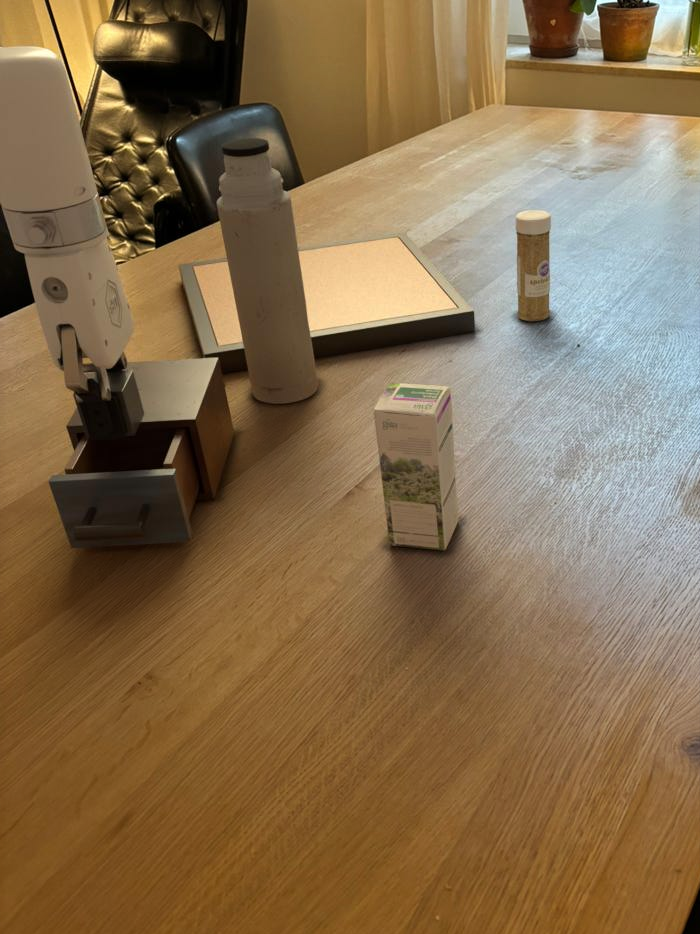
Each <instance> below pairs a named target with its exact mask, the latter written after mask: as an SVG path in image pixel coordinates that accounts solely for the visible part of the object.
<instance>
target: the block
mask: <svg viewBox="0 0 700 934" xmlns="http://www.w3.org/2000/svg"><path fill="white" fill-rule="evenodd" d="M84 374H85V376H87V378H88V379H89V378H93V379H94V380H95V381H96V382H97V383H98V379H97V375H96V373H94V372H88V373H84ZM107 377H108V382H109V387H110V392H111V396H113V395H116V398H117V402H118V405H119V409H120V412H121V416H122V419H123V423H124V426H125V430H126V435H125V436H135V434H136V431H137V429H138V427H139V425H140V423H141V421H142V419H143V416H144V410H143V406H142V402H141V399H140V395H139V391H138V388H137V384H136V380H135V376H134V373H133V371H120V372H107ZM72 396H73V398H74V402H75V406H76V408H77V409H78V412H79V415H80V418H81V421H82V425H83V428H84V431H85V434H86V437H87V438H90V437H89V433H88V430H87V427H86V424H85V421H84V417H83V414H82V411H81V408H80V404H79V402H77V400H76V396H75V393H74V392H73V394H72Z"/></svg>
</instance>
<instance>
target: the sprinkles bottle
mask: <svg viewBox="0 0 700 934" xmlns="http://www.w3.org/2000/svg"><path fill="white" fill-rule="evenodd" d="M551 228H552V217H551V213H549V212H548V211H545V210H539V209H538V210H536V209H533V210H532V209H531V210H524V211H521V212H519V213H517V214H516V215H515V234H516V251H517V252H516V291H517V317H518V318H519V319H520V320H522V321H526V322H539V321H544V320H546V319H548V318H549V317H550V315H551V310H550V292H551V269H550V252H551V251H550V233H551V230H552V229H551Z"/></svg>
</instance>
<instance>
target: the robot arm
mask: <svg viewBox="0 0 700 934" xmlns="http://www.w3.org/2000/svg"><path fill="white" fill-rule="evenodd" d="M79 119H80V118H79V115H78V112H77V107H76V103H75V100H74V96H73V93H72V89H71V84H70V80H69V77H68V73H67V70H66V67H65V65H64V63H63V62H62V60H61V58H60V57H59V56H58V55H57V54H56V53H55V52H53V51H52V50H50V49H48V48H44V47H41V46H31V45H29V46H28V45H20V46H19V45H18V46H17V45H15V46H4V47H3V46H0V206H1V209H2V212H3V216H4V219H5V222H6V225H7V229H8V231H9V235H10V238H11V241H12V244H13V247H14V249H15V251H17V252H19V253H22V254H24V260H25V265H26V269H27V273H28V278H29V283H30V287H31V291H32V295H33V298H34V304H35V307H36V310H37V311H36V312H37V315H38V318H39V322H40V326H41V329H42V332H43V336H44V338H45V342H46V345H47V348H48V350H49V351H48V352H49V354H50V356H51V358H52V359H51V360H52V361H53V363H54V365H55V367H56V368H57V369H58V370H60V371H62V372H63V377H64V385H65V387H66V388H67V390H69V391H71V392H73V393H75V396H76V400H77V402H79V404H80V408H81V411H82V414H83V417H84V421H85V424H86V427H87V430H88V433H89V437H90V438H91V439H92V440H110V439H123V438H124V437H125V435H126V430H125V426H124V423H123V419H122V416H121V412H120V409H119V405H118V402H117V398H116V395H113V396H111V392H110V387H109V382H108V377H107V372H120V371H123V370H125V369H127V367H128V363H127V362H128V359H127V356H126V353H125V349H126V347H127V345H128V343H129V342H130V340H131V338H132V336H133V334H134V332H135V331H134V330H135V322H134V318H133V314H132V311H131V307H130V304H129V301H128V297H127V293H126V291H125V287H124V285H123V281H122V278H121V275H120V272H119V268H118V266H117V262H116V259H115V257H114V254H113V251H112V248H111V245H110V243H109V241H108V239H107V238H108V237H109V229H108V226H107V222H106V217H105V214H104V210H103V206H102V202H101V198H100V195H99V192H98V188H97V184H96V179H95V177H94V173H93V169H92V166H91V160H90V156H89V154H88V149H87V146H86V142H85V138H84V135H83V131H82V127H81V123H80V120H79ZM83 359H89V361H90V362H88V363H87V362H86V363H84V362H83V361H84V360H83ZM86 373H96V375H97V379H98V383H97V382H96V381H95V380H94V379H93V378H89V379H88V378H87V376H85V374H86Z"/></svg>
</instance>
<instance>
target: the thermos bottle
mask: <svg viewBox="0 0 700 934" xmlns="http://www.w3.org/2000/svg"><path fill="white" fill-rule="evenodd" d="M269 150H270V144H269V141H268V140H267V139H265V138H258V137H244V138H237V139H232V140H229V141H226V142H224V143H222V144H221V151H222V154H223V157H224V158H223V164H224V170H225V172H223V174H222V175H220V176H219V178H218V182H219V187H218V190H219V192H220V194H221V196H220V197H218V198H217V200H216V208H217V214H218V219H219V225H220V229H221V234H222V238H223V246H224V250H225V255H226V258H227V261H228V266H229V272H230V277H231V282H232V287H233V293H234V298H235V303H236V308H237V314H238V319H239V324H240V330H241V335H242V340H243V345H244V351H245V356H246V361H247V366H248V370H247V372H248V377H249V382H250V387H251V391H252V395H253V397H254V398H255V399H256V400H257V401H260V402H263V403H266V404H271V405H273V404H274V405H275V404H276V405H282V404H283V405H285V404H291V403H296V402H299V401H300V402H301V401H302V400H305V399H308V398H309V397H311V396H313V395H314V394H315V393H316V392H317V390H318V387H319V382H318V376H317V368H316V362H315V361H316V360H315V358H314V354H313V348H312V341H311V335H310V329H309V323H308V316H307V308H306V300H305V293H304V286H303V279H302V272H301V265H300V259H299V252H298V248H299V246H298V237H297V232H296V225H295V224H296V223H295V218H294V212H293V211H294V210H293V206H292V204H293V203H292V198H291V194H290V193H289V192H288V191H286V190H284V188H283V183H284V179H283V178H282V175H281V173H280V172H279V170H278V169H275V168H273V167H272V163H271V157H270V154H269V152H268V151H269Z"/></svg>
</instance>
